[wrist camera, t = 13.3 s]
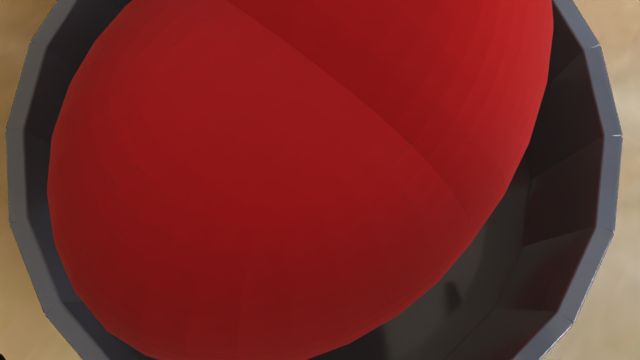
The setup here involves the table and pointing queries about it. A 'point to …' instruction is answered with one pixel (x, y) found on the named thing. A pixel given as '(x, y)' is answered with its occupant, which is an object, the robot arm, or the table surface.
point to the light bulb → (286, 164)
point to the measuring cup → (462, 277)
